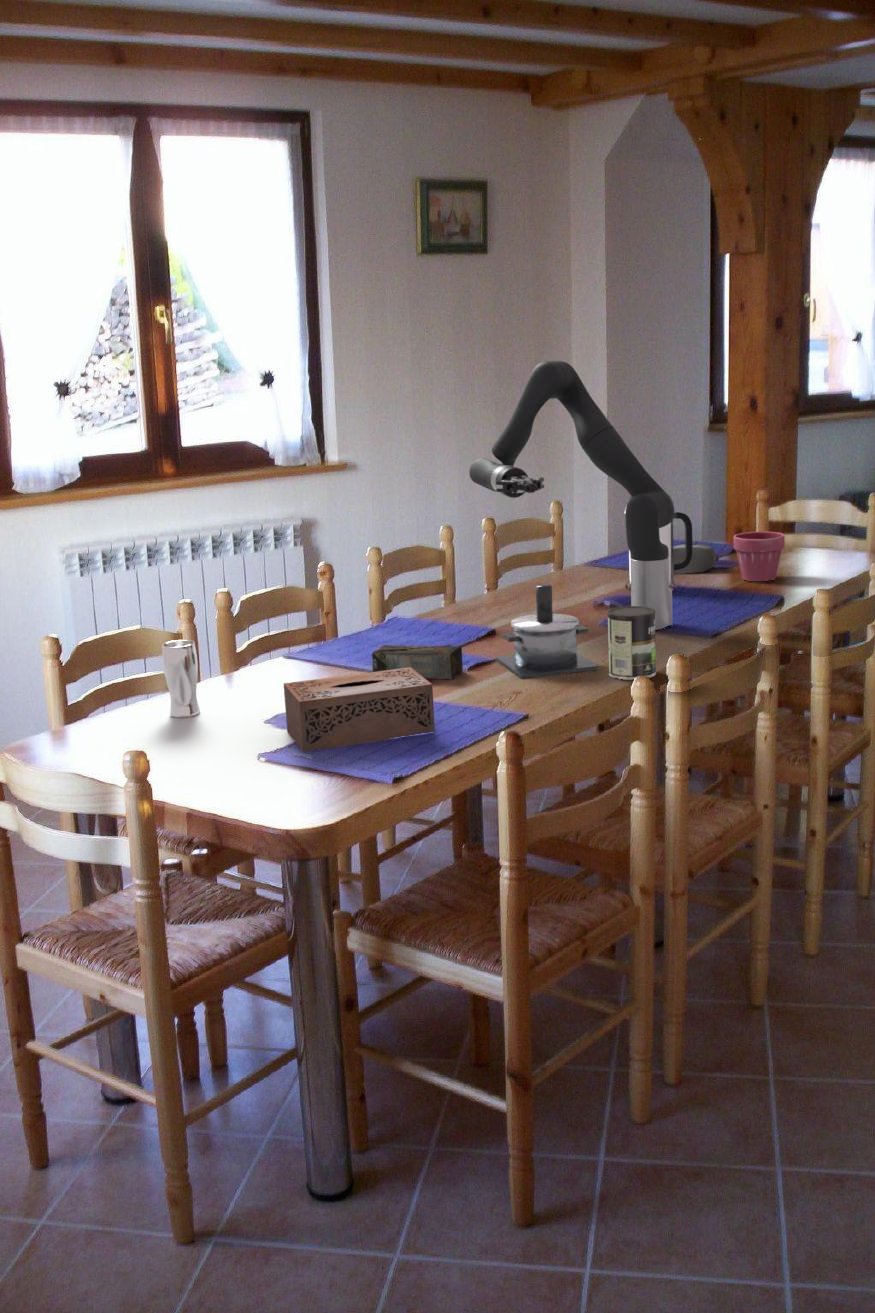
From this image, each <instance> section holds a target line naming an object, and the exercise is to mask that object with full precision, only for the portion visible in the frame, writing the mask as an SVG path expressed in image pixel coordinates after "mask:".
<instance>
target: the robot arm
mask: <svg viewBox="0 0 875 1313" xmlns="http://www.w3.org/2000/svg"><path fill="white" fill-rule="evenodd" d="M550 399H552V400H553V399H557V400H558V401H559V403H561V405H562V406H563V407H564V408H565V409H566V411H567V412H568V413H569V415H570V416H571V418H572V421H573V423H574V428H575V433H576V436H577V440H578V443H579V445H580V447H581V449H582V450H583V451H584V453H585V455H587V457H588V459H589V460H590V461H591V462H592V463H593V465H594V466H595V467H596V468H598V469H599V471H601V473H604V474H605V475H606V476H608V477H609V478H611V479H612V480H614V481H615V482H617V483H618V484H620V485H621V486H622V487H623V488H624V489H625V490H626V492H628V494H629V495H630V496H632V498H631V499H630V500H629V499H628V501H629V502H628V504H627V503H626V506H627V507H626V506H625V509H626V514H624V515H625V516H624V517H625V530H626V531H625V534H626V544H627V548H628V551H629V550H630V556H631V583H630V587H631V588H630V604H631V605H630V606H641V607H649V608H652V609H654V610H655V631H656V630H663V628H664V629H666V628H665V627H667V626H668V625H672V626H673V591H672V589H671V588H669V586H670V585H669V559H668V557H669V551H668V547H667V545H665V544H662V543H661V541H660V536H659V528H662V527H664V526H667V525H668V524H670V523H671V521H672V520H673V521H674V519H675V518H674V513H675V506H674V504H673V503H672V501H671V499H670V497H669V496H668V495H667V493H668V492H666V491H665V490H664V488H662V487H661V486H660V484H658V482H657V481H656V480H655V479H654V478H653V477H652V476H651V474H650V473H648V472H647V470H646V469H645V468H644V466H643V465H642V464H641V462H640V461H639V460H638V458H637V457H636V455H634V453H633V451H632V450H631V449H630V448H629V446H628V445H627V444H626V442H625V441H624V439H623V438H622V436H621V434H619V432H618V431H617V429H616V428H615V427H614V426H613V424H612V423H611V422H610V421H609V419H608V417H606V415H605V414H604V412H603V411H602V410H601V409H600V407H599V406H598V405H597V403H596V402H595V401H594V399H593V398H592V396H591V395H590V393H589V391H588V389H587V387H585V384H584V383H583V381H582V379H581V377H580V376H579V374H578V373H577V371H576V370H575V369H574V367H573V366H572V365H571V364H570V363H568V362H566V361H562V360H547V361H542V362H539V363H538V364H537V365H536V366H535V367H534V368H533V370H532V371H531V373H530V376H529V377H528V379H527V382H526V384H525V387H524V388H523V391H522V393H521V396H520V398H519V400H518V402H517V404H516V406H515V408H514V411H513V413H512V414H511V416H510V418H509V420H508V421H507V423H506V425H505V426H504V428H503V429H502V431H500V434H499V435H498V437H497V438H496V440H495V441H494V443H493V445H492V447H491V453H492V455H493V456H494V457H495V458H496V459H497V460H498V461H499V462H501V464H500V463H498V462H495V461H493V460H490V459H488V458H486V457H478V458H476V459H475V460H474V461H473V462H472V464H471V465H470V468H469V471H468V474H469V478H470V480H471V481H472V482H473V483H474V484H476V485H478V486H481V487H482V488H486V489H488V490H490V491H492V492H494V493H495V492H496V493H499V494H500V495H502V496H506V497H507V498H512V499H517V498H520V497H522V496H523V495H524V494H525V493H528V494H532V493H533V494H534V493H536V492H537V491H539V490H542V489H544V488H545V477H542V476H541V477H538V478H537V477H536V478H535V479H534V478H532V477H529V476H528V474H527V473H526V471H525V470H523V469H522V468H519V467H516V466H514V465H515V463H516V460H518V457H519V456H520V454H521V452H522V451H523V450H524V448H525V447H526V445H527V444H528V441H529V440H530V437H531V435H532V431H533V427H534V422H535V419H536V417H537V415H538V413H539V412H540V411H541V409H542V407H543V406H544V405H545V404H546V403H548V401H549V400H550ZM673 518H674V519H673ZM667 628H668V627H667Z"/></svg>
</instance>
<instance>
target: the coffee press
mask: <svg viewBox="0 0 875 1313" xmlns="http://www.w3.org/2000/svg"><path fill="white" fill-rule="evenodd" d="M666 493H667V495H668V496H669V497H670V499H671V501H672V503H673V505H674V503H675V501H674V499H673V498H672V495H671V494H669V493H668V492H666ZM631 498H632V496H631V495H630V496H629V498H628V501H626V506H625V509H624V511H623V512H624V515H625V514H626V507H627V504H628V502H629V500H630V499H631ZM674 519H677V520H678V519H679V520H681V521H683V524H684V528H685V530H684V531H685V534H684V536H685V538H684V539H685V543H684V544H685V558H684V560H683V561H682V562H680V563H677V564H673V546H674ZM659 536H660V541H661V543H662V544H665V545H667V547H668V551H669V557H668V559H669V588H671V589H674V588H673V587H672V586H671V585H673V586H674V587H675V590H676V589H677V588H678V585H677V584H676V582H675V579H674V575H675V574H673V573H674V570H679V569H682V568H685V567H686V566H687V565H688V564H689V563H690V561H691V558H692V545H693V524H692V520H691V519H690V517H689V516H688V515H687V514H685V512H684V513H683V512H679V511H675V512H674V518H673V520H672V521H671V523H670V524H668V525H667V526H664V527H662V528H659ZM628 575H629V576H628V581H627V582H626V583H625V586H624V587H625V589H627V590H631V586H630V587H629V586H628V584H629V583H630V584H631V556H630V550H629V549H628ZM678 589H679V588H678ZM678 589H677V590H678Z"/></svg>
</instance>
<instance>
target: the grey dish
mask: <svg viewBox="0 0 875 1313" xmlns="http://www.w3.org/2000/svg"><path fill="white" fill-rule="evenodd" d="M719 557H720V556H719V555H718V554H717V553H716V551H715V549H714V547H712V546H709V545H706V544H692V558H691V561H690V563H689V564H688V565H687V566H686V567H685V568H682V569H679V570H674V573H673V575H678V574H679V575H682V574H685V573H686V574H693V573H705V572H707V571H709V570H711V569H713V568H714V566H715V565H716V563H717V562H718V561H719V560H720V558H719ZM684 558H685V543H684V544H678V545H673V564H677V563H680V562H682V561H683V560H684ZM686 574H685V575H686Z"/></svg>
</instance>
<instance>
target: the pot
mask: <svg viewBox="0 0 875 1313" xmlns="http://www.w3.org/2000/svg"><path fill="white" fill-rule="evenodd" d="M583 634H584V635H585V634H589V628H588V627H586V626H584V625H583V624H579V625H578V626H577V627H576V628H574V629H571V630H567V631H561V632H553V633H529V632H521V631H517V630H514V629H513V631H510V632H502V633H501V638H502V639H504V640H505V641H507V642H508V643H513V645H514V647H513V648H514V650H513V651H514V654H509V655H508V654H507V655H500V656H495V661H496V662H498V663H499V664H500V665H502V666H503V667H505V669H507V670H508V671H510V673H511V672H512V673H513V674H514V675H515V676H517V677H518V678H520V679H529V678H530V679H531V678H536V677H537V678H538V677H546V676H547V675H548V676H553V674H556V675H562V674H561V673H564V674H569V673H568V672H572V673H580V672H588V671H597V670H599V665H598V664H597V663H594V662H593V661H592V660H590V659H588V658H586V657H584V656H583V655H581V654H580V653H578V641H577V640H578V639H577V638H578V636H577V635H583Z"/></svg>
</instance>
